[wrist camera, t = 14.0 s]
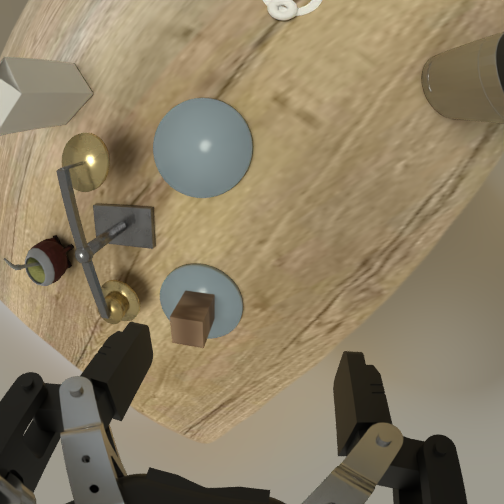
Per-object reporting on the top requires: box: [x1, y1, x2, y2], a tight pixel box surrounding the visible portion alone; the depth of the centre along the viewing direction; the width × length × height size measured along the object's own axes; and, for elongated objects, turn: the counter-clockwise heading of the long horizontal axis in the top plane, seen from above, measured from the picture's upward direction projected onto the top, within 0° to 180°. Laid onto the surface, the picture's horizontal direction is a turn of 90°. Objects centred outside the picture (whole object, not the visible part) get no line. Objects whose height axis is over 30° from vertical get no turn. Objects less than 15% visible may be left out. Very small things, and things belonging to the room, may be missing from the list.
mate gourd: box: [4, 235, 74, 286], centre depth 41 cm, size 8×8×15 cm
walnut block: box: [170, 290, 215, 348], centre depth 44 cm, size 4×4×7 cm
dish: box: [160, 264, 243, 338], centre depth 47 cm, size 13×13×1 cm
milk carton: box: [0, 57, 93, 136], centre depth 28 cm, size 7×7×19 cm
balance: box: [57, 133, 155, 324], centre depth 38 cm, size 10×28×14 cm, turn 176°
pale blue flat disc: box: [153, 98, 253, 198], centre depth 38 cm, size 13×13×1 cm
